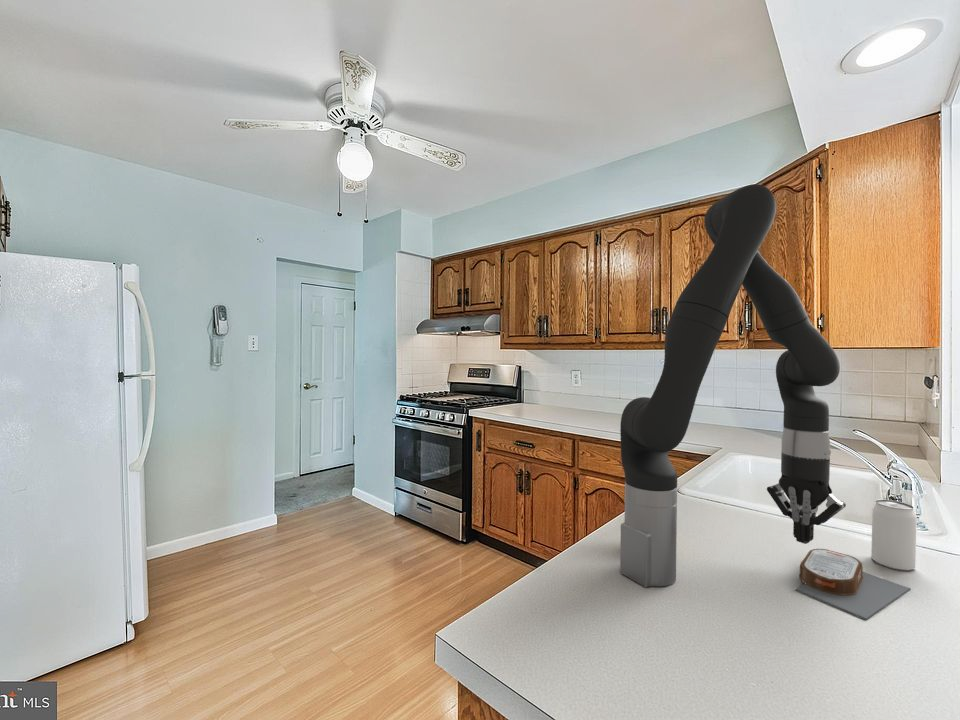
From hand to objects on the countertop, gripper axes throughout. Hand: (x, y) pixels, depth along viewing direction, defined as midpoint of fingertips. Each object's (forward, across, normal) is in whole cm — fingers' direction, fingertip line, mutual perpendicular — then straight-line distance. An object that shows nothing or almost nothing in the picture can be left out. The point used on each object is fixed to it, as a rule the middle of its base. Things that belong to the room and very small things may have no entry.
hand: (803, 541), depth 86 cm
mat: (+6, +8, 0) cm, 10 cm away
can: (+6, +8, +19) cm, 21 cm away
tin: (+4, 0, 0) cm, 4 cm away
